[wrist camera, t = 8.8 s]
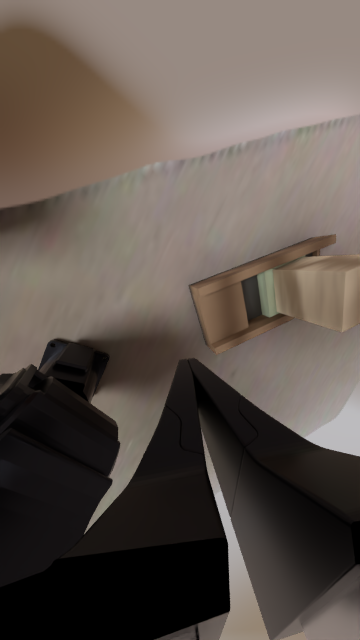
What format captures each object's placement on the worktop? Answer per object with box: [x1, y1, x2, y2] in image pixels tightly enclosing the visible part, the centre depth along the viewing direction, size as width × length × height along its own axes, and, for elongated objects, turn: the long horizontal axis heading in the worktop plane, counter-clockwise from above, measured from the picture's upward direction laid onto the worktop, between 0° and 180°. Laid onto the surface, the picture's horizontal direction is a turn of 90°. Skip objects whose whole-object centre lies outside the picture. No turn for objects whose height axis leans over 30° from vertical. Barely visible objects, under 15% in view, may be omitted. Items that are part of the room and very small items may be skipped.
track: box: [189, 234, 336, 355], centre depth 23 cm, size 20×9×3 cm, turn 108°
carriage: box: [273, 254, 360, 332], centre depth 20 cm, size 5×6×8 cm
